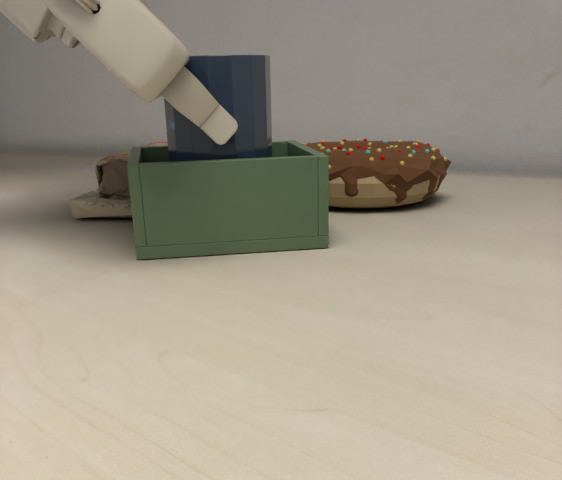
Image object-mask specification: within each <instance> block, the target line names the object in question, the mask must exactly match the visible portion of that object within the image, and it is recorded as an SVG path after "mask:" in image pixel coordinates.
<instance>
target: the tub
mask: <svg viewBox="0 0 562 480" xmlns="http://www.w3.org/2000/svg"><path fill="white" fill-rule="evenodd" d="M303 144H304V143H301V142H299V141H297V140H274V141H273V140H272V157H265V158H243V159H220V160H197V161H175V162H169V156H168V146H147V147H140V146H132V147H131V149H132V150H131V153H130V157H129V160H128V164H127V172H128V181H129V190H130V199H131V209H132V218H131V219H132V226H133V235H134V246H135V254H136V260H154V259H156V260H158V259H172V258H188V257H204V256H220V255H233V254H235V255H237V254H250V253H266V252H267V253H269V252H282V251H299V250H315V249H328V248H329V245H330V244H329V240H330V239H329V230H330V229H329V219H330V218H329V215H330V214H329V213H330V212H329V207H330V206H329V156H327V155H325V154H323V153H321V152H318V151H316V150H314V149H312V148H310V147H308V146H306V145H303Z"/></svg>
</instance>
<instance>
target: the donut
mask: <svg viewBox="0 0 562 480" xmlns="http://www.w3.org/2000/svg"><path fill="white" fill-rule="evenodd" d="M302 144H303V145H306V146H308V147H310V148H312V149H314V150H316V151H318V152H321V153H323V154H325V155H327V156H329V207H331V208H341V209H384V208H393V207H395V208H396V207H400V206H407V205H411V204H416V203H420V202H422V201H426V200H427V199H428V198H430V197H432V196H433V195H434V194H435V193H437V192H438V191H439V189H440V187H441V185H442V183H443V181H444V180H445V178H446V176H448V172H447V171H448V169H449V167H450V165H451V164H452V160H450V159H448V157H447V156H443V155H442V153H441V150H440V149H439V148H435V147H433V146H431V143H429V142H426V143H423V142H421V140H420V139H417V140H415V139H414V138H411V139H410V140H407V141H406V140H404V141H403V140H402V139H400V138H399V139H398V140H397V141H395V140H394V141H391V140H387V139H384V140H368V139H367V138H366V137H365V138H363V140H360V138H356V139H355V140H347V139H346V138H343V139H342V140H338V141H326V139H321V141H318V142H316V141H315V142H307V143H302Z"/></svg>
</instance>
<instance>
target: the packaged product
mask: <svg viewBox="0 0 562 480" xmlns="http://www.w3.org/2000/svg"><path fill="white" fill-rule="evenodd" d="M147 146H168V144H167V141H158V142H151V143H149V144H148V143H147V144H145V145H140V146H139V147H147ZM131 150H132V148H131V149H127V150H124V151H121V152H116V153H114V154H110V155H108V156H105V157H102V158H100V159H99V160H98V161H97V162H96V165H95V168H94V173H95V177H96V180H97V186H98V188H97V189H96V190H90V191H88V192H86V193H82V194H81V195H79V196H76V197H74V198H70V199H69V200H68V203H69V207H70V210H71V213H72V216H73V219H85V218H90V219H92V218H93V219H94V218H95V219H96V218H97V219H102V218H103V219H107V218H108V219H133V218H132V209H131V199H130V190H129V181H128V172H127V164H128V160H129V157H130V153H131Z"/></svg>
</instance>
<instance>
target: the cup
mask: <svg viewBox="0 0 562 480" xmlns="http://www.w3.org/2000/svg"><path fill="white" fill-rule="evenodd" d="M189 57H190V59H189V62H188V63H187V64H186V65H184V66H185V67H186V68H187V69H188V70H189V71H190V72H191V73H192V74H193V75H194V76H195V77H196V78H197V79H198V80H199V81H200V82H201V83H202V85H203V86H204V87H205V88H206V89H207V90H208V92H209V93H210V94H211V95H212V96H213V97H214V99H215V100H216V101H217V102H218V103H219V104H220V105H221V106H222V107H223V108H224V109H225V110H226V111H227V112H228V113H229V114H230V115H231V116H232V117H233V118H234V119H235V120H236V122H237V124H238V128H237V131H236V132H235V133H234V134H233V135H232V137H231V138H230V139H229V140H228V141H227V142H226V143H225V144H222V145H219V144H217V143H215V142H214V141H213V140H212V139H211V138H210V137H209V136H208V135H207V134H206V133H205V132H204V131H203V130H202V129H201V128H200V127H198V126H197V125H196V124H194V123H193V122H192V121H190V120H189V119H188V118H187V117H185V116H184V115H183V114H181V113H180V112H179V111H178V110H176V109H175V108H174V107H173V106H172V105H171V104H170V103H169V102H168V101H167V100H166V99H165V98H164V97H163V104H164V105H163V106H164V116H165V117H164V118H165V129H166V142H167V144H168V156H169V162H175V161H197V160H220V159H243V158H265V157H272V141H273V134H272V133H273V127H272V126H273V125H272V124H273V123H272V87H271V86H272V85H271V84H272V83H271V82H272V81H271V56H270V55H269V54H211V55H210V54H207V55H205V54H204V55H189Z"/></svg>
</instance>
